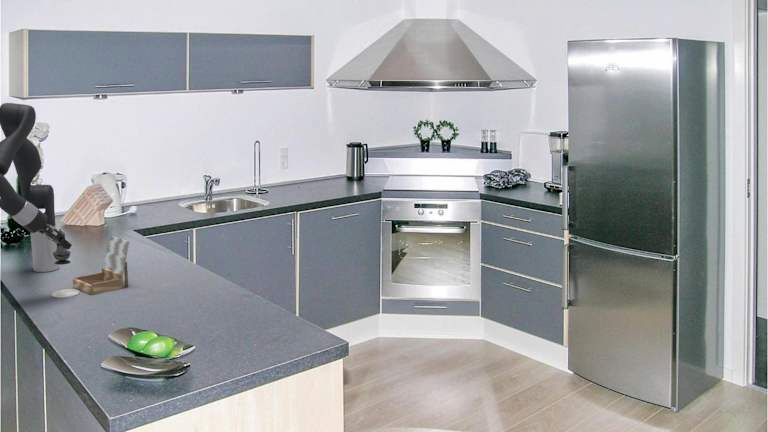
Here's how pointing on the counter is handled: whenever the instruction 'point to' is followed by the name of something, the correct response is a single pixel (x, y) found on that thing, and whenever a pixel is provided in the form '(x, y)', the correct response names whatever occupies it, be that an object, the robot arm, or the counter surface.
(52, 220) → the robot arm
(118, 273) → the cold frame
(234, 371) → the counter surface
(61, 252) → the grey tall domed piece
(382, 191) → the counter surface
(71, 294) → the saucer
